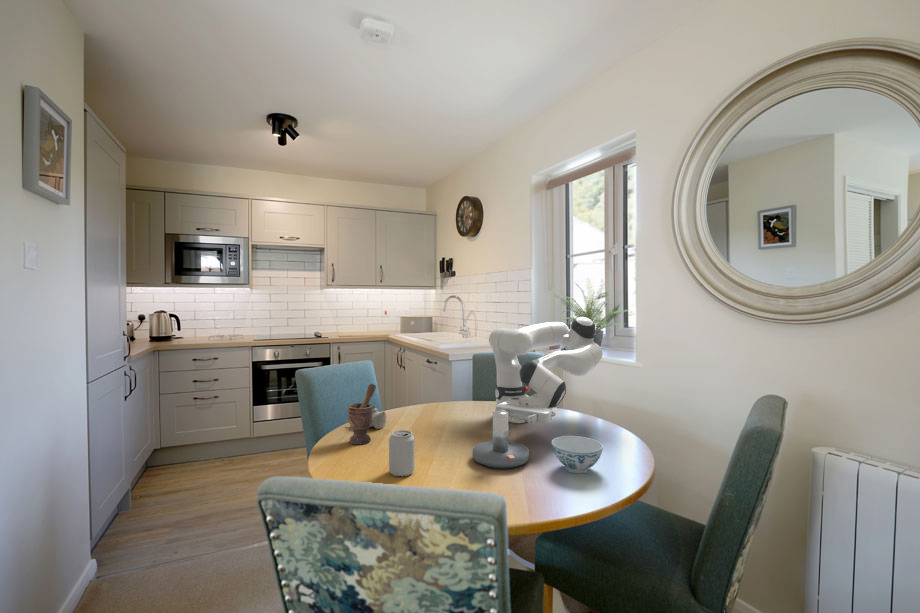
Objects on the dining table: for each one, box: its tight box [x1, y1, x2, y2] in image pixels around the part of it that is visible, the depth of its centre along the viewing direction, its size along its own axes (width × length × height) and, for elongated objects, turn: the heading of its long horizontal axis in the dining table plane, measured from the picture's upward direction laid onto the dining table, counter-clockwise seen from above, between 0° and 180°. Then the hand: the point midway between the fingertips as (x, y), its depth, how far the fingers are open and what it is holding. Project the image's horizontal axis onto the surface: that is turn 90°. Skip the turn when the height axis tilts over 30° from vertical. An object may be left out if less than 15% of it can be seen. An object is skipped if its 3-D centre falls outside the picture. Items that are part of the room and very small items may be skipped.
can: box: [388, 429, 416, 478], centre depth 126 cm, size 8×8×12 cm
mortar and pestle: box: [347, 383, 377, 445], centre depth 156 cm, size 12×9×20 cm
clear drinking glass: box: [492, 410, 509, 453], centre depth 136 cm, size 5×5×12 cm
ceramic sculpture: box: [369, 406, 388, 430], centre depth 173 cm, size 11×9×15 cm
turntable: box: [472, 440, 530, 468], centre depth 136 cm, size 18×18×3 cm
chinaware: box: [551, 435, 604, 474], centre depth 129 cm, size 15×15×8 cm
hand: (514, 417), depth 144 cm, fingers open, 8 cm apart
